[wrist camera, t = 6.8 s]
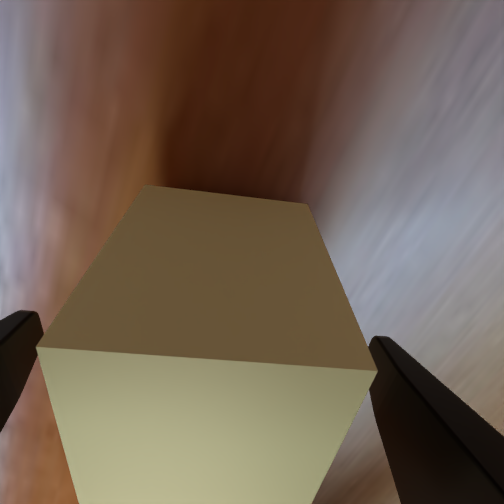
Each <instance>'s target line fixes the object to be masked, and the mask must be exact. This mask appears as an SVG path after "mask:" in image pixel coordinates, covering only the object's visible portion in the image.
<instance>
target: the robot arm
mask: <svg viewBox="0 0 504 504" xmlns="http://www.w3.org/2000/svg"><path fill="white" fill-rule="evenodd" d="M43 335H44V332H43V329H42V325H41V321H40V318H39V315H38V313H37V312H35V311H26V310H19V311H16V312H14V313H13V314H11V315H9V316H7V317H5V318H4V319H2V320H0V432H1V431H2V429H3V427H4V425H5V423H6V422H7V420H8V418H9V416H10V414H11V413H12V411H13V409H14V407H15V405H16V403H17V401H18V399H19V397H20V395H21V393H22V391H23V389H24V386H25V384H26V382H27V379H28V377H29V374H30V372H31V370H32V367H33V365H34V363H35V360H36V358H37V356H38V353H37V350H36V346H37V344H38V343H39V341H40V340H41V338H42V337H43ZM368 349H369V351H370V353H371V356H372V358H373V360H374V363H375V365H376V368H377V370H378V372H377V374H376V376H375V378H374V380H373V382H372V384H371V386H370V388H369V391H370V397H371V402H372V407H373V411H374V416H375V419H376V423H377V426H378V430H379V433H380V436H381V439H382V443H383V446H384V449H385V452H386V456H387V459H388V462H389V466H390V469H391V472H392V475H393V479H394V482H395V485H396V488H397V492H398V495H399V498H400V501H401V504H504V436H503V435H501V434H500V433H499V432H498V431H497V430H496V429H494V428H493V427H492V426H491V425H490V424H489V423H488V422H486V421H485V420H484V419H483V418H482V417H481V416H480V415H478V414H477V413H476V412H475V411H474V410H473V409H471V408H470V407H469V406H468V405H467V404H466V403H465V402H463V401H462V400H461V399H460V398H459V397H458V396H457V395H455V394H454V393H453V392H452V391H451V390H450V389H448V388H447V387H446V386H445V385H444V384H443V383H442V382H440V381H439V380H438V379H437V378H436V377H435V376H434V375H432V374H431V373H430V372H429V371H428V370H427V369H425V368H424V367H423V366H422V365H421V364H420V363H419V362H417V361H416V360H415V359H414V358H413V357H412V356H410V355H409V354H408V353H407V352H406V351H405V350H404V349H402V348H401V347H400V346H399V345H398V344H397V343H396V342H394V341H393V340H392V339H391V338H389V337H387V336H374V337H373V338H372V339H371V342H370V344H369V346H368Z"/></svg>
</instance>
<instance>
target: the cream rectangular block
mask: <svg viewBox="0 0 504 504" xmlns="http://www.w3.org/2000/svg"><path fill="white" fill-rule="evenodd" d="M36 350H37V353H38V357H39V361H40V364H41V368H42V371H43V375H44V379H45V382H46V386H47V389H48V393H49V397H50V400H51V404H52V408H53V411H54V415H55V418H56V422H57V426H58V429H59V433H60V437H61V440H62V444H63V447H64V451H65V455H66V458H67V462H68V466H69V469H70V473H71V476H72V480H73V484H74V487H75V491H76V495H77V498H78V502H79V504H311V503H312V501H313V499H314V497H315V495H316V493H317V491H318V489H319V487H320V485H321V483H322V481H323V479H324V477H325V476H326V474H327V472H328V470H329V468H330V466H331V464H332V462H333V460H334V458H335V456H336V454H337V452H338V450H339V448H340V446H341V444H342V442H343V440H344V438H345V436H346V434H347V432H348V430H349V428H350V426H351V424H352V422H353V420H354V418H355V416H356V414H357V412H358V410H359V408H360V406H361V404H362V402H363V400H364V398H365V396H366V394H367V392H368V390H369V388H370V386H371V384H372V382H373V380H374V378H375V376H376V374H377V372H378V370H377V368H376V365H375V363H374V360H373V358H372V356H371V353H370V351H369V349H368V346H367V344H366V341H365V339H364V337H363V334H362V332H361V330H360V327H359V325H358V322H357V320H356V318H355V315H354V313H353V311H352V308H351V306H350V303H349V301H348V299H347V296H346V294H345V292H344V289H343V287H342V284H341V282H340V280H339V277H338V275H337V273H336V270H335V268H334V266H333V263H332V261H331V258H330V256H329V254H328V251H327V249H326V247H325V244H324V242H323V239H322V237H321V235H320V232H319V230H318V228H317V225H316V223H315V220H314V218H313V216H312V213H311V211H310V209H309V206H308V204H303V203H295V202H286V201H278V200H270V199H261V198H253V197H244V196H236V195H228V194H219V193H211V192H203V191H194V190H186V189H178V188H169V187H161V186H153V185H144V187H143V188H142V190H141V191H140V193H139V194H138V196H137V197H136V199H135V200H134V202H133V203H132V205H131V206H130V208H129V209H128V210H127V212H126V213H125V215H124V216H123V218H122V219H121V221H120V222H119V224H118V225H117V227H116V228H115V230H114V231H113V233H112V234H111V236H110V237H109V239H108V240H107V242H106V243H105V245H104V246H103V248H102V249H101V251H100V252H99V254H98V255H97V257H96V258H95V260H94V261H93V262H92V264H91V265H90V267H89V268H88V270H87V271H86V273H85V274H84V276H83V277H82V279H81V280H80V282H79V283H78V285H77V286H76V288H75V289H74V291H73V292H72V294H71V295H70V297H69V298H68V300H67V301H66V303H65V304H64V306H63V307H62V309H61V310H60V312H59V313H58V314H57V316H56V317H55V319H54V320H53V322H52V323H51V325H50V326H49V328H48V329H47V331H46V332H45V334H44V335H43V337H42V338H41V340H40V341H39V343H38V344H37V346H36Z"/></svg>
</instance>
